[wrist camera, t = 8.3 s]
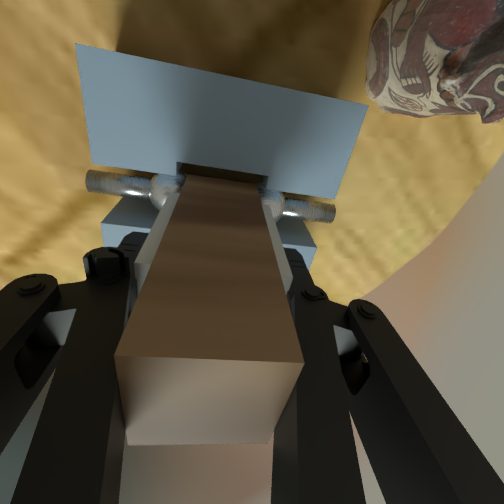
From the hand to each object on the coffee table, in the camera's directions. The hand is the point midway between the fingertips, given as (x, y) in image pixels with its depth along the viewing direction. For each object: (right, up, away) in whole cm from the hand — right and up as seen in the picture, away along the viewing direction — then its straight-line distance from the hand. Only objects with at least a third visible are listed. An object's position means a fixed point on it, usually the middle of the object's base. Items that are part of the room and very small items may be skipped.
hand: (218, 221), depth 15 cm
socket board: (-1, +2, +6) cm, 7 cm away
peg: (0, +1, +1) cm, 2 cm away
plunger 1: (-5, +3, +3) cm, 7 cm away
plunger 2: (+4, +2, +5) cm, 7 cm away
